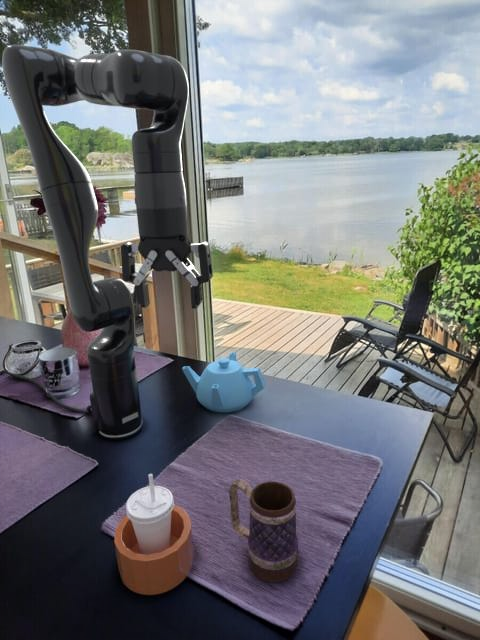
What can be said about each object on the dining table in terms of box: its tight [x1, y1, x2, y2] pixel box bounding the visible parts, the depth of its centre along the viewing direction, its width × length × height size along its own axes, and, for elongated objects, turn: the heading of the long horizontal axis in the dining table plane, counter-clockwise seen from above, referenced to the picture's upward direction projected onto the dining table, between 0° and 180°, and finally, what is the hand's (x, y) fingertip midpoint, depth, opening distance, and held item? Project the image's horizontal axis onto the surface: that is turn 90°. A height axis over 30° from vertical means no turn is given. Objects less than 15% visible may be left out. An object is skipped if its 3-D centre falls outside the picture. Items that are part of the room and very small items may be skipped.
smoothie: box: [125, 473, 175, 555], centre depth 61 cm, size 6×6×14 cm
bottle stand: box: [113, 504, 194, 596], centre depth 62 cm, size 10×10×6 cm
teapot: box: [181, 351, 266, 413], centre depth 105 cm, size 15×15×11 cm
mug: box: [228, 478, 299, 583], centre depth 61 cm, size 10×7×12 cm
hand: (170, 306), depth 72 cm, fingers open, 8 cm apart
